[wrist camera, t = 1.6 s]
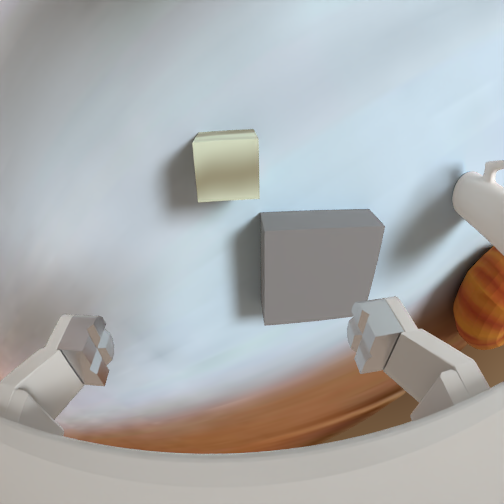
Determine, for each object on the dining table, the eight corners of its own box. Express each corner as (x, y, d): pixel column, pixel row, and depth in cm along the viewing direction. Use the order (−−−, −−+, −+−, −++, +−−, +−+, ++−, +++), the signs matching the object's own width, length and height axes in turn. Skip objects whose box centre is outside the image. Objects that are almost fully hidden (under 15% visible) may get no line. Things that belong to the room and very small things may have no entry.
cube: (198, 132, 25) (192, 142, 21) (253, 129, 26) (258, 138, 21) (202, 182, 28) (198, 202, 24) (254, 179, 28) (259, 198, 24)
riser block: (260, 212, 30) (264, 231, 27) (369, 209, 31) (384, 226, 27) (261, 302, 36) (264, 325, 33) (352, 294, 37) (363, 315, 34)
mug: (479, 214, 32) (534, 262, 22) (446, 218, 32) (504, 272, 22) (489, 145, 27) (557, 181, 16) (456, 142, 27) (530, 180, 16)
